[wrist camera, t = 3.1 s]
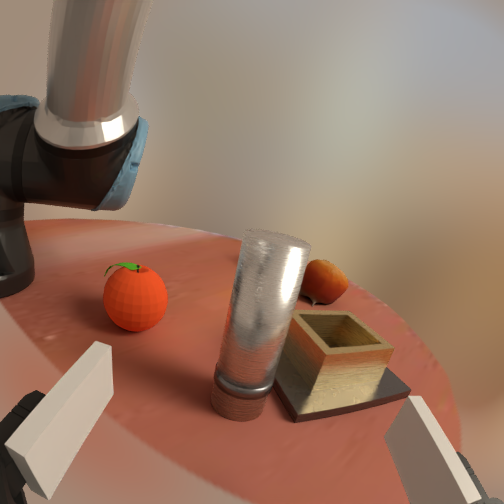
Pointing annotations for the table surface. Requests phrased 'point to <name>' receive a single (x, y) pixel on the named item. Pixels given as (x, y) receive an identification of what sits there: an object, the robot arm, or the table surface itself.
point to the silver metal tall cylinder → (257, 321)
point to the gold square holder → (334, 366)
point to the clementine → (135, 297)
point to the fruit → (323, 282)
